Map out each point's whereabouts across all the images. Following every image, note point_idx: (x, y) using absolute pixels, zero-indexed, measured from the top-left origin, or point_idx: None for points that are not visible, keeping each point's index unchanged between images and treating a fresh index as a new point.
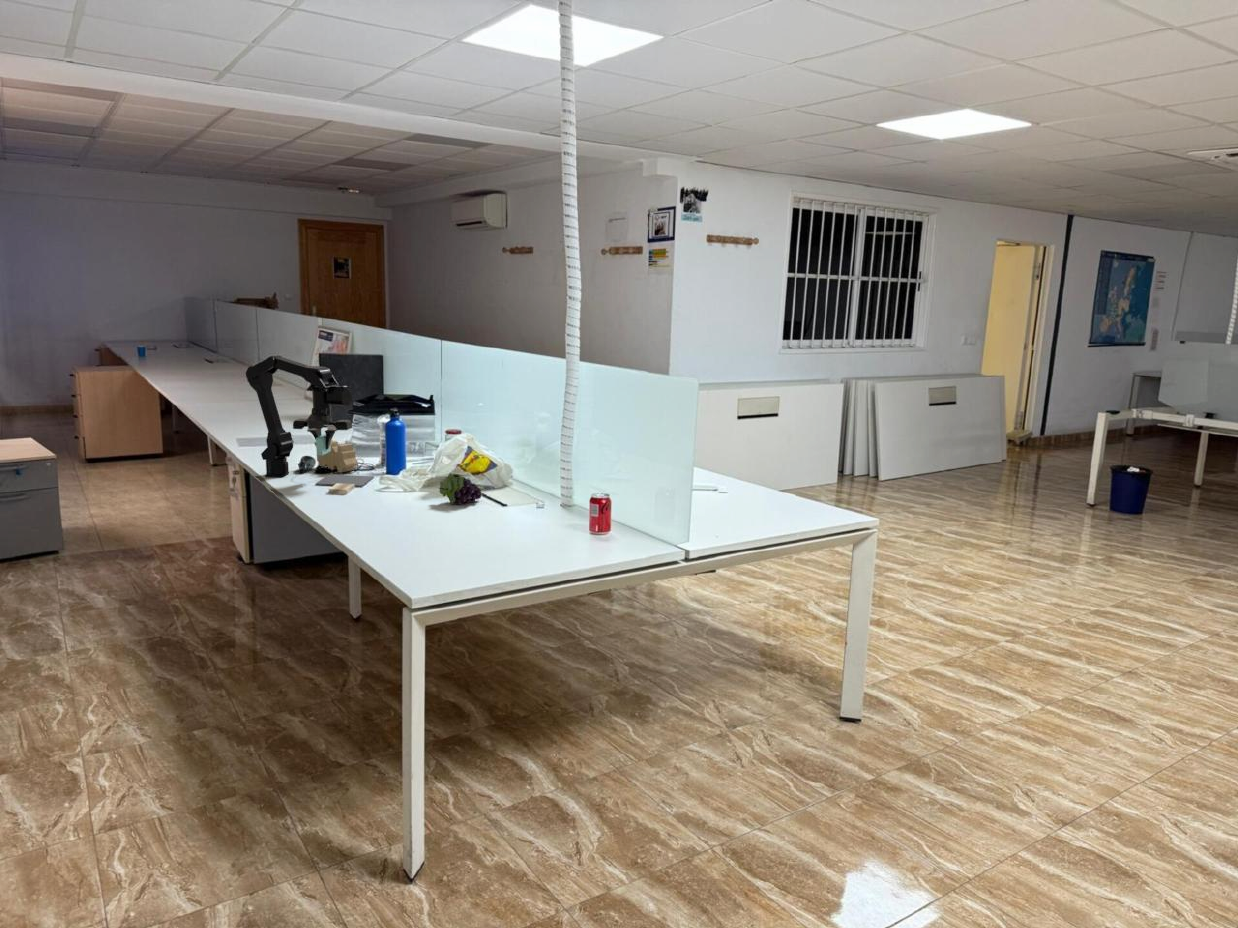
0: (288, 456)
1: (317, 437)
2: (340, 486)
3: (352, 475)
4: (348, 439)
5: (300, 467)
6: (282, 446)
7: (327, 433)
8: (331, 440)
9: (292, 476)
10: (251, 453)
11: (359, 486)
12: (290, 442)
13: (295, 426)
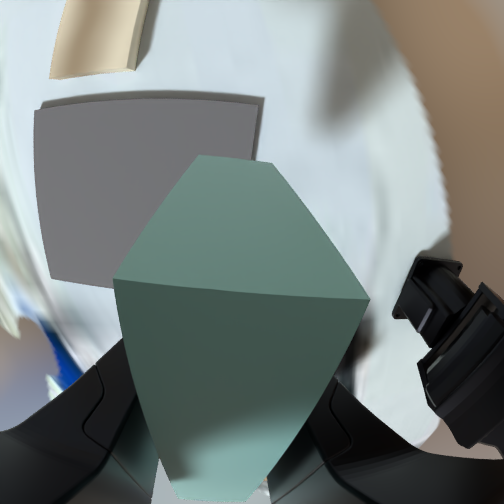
0: (420, 359)
1: (316, 375)
2: (100, 15)
3: None
4: (267, 492)
5: (351, 382)
6: (494, 340)
7: (25, 470)
8: (264, 479)
9: (382, 277)
10: (425, 425)
11: (46, 108)
12: (456, 394)
13: None
